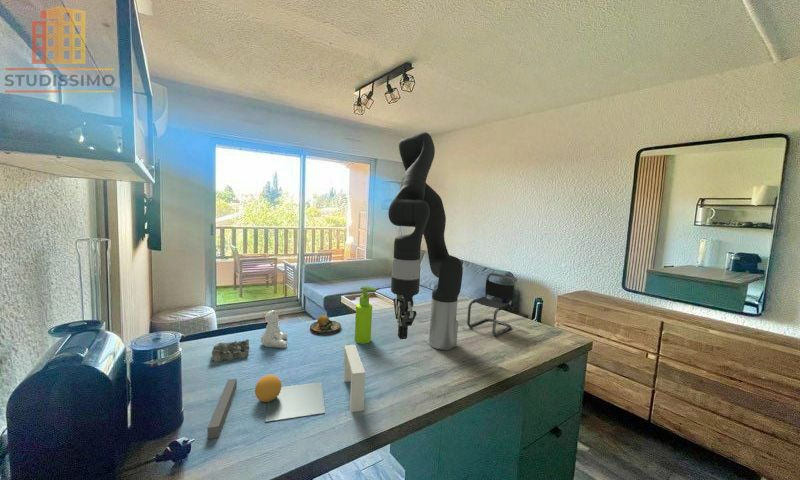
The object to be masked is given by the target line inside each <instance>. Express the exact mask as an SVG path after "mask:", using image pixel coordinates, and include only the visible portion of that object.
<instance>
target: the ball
mask: <svg viewBox="0 0 800 480" xmlns="http://www.w3.org/2000/svg"><path fill="white" fill-rule="evenodd" d="M281 387H282V382H281V379H280V378H279V377H278V376H277V375H274V374H268V375H264V376H262V377H261V378H259V380H258V381H257V382H256V384H255V388H254V393H255V396H256V398H257V399H258V400H259V401H261V402H264V403H268V402H269V401H272V400H274V399H275V398H276V397H277V396H278V395H279V393H280V391H281Z"/></svg>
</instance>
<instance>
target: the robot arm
mask: <svg viewBox="0 0 800 480" xmlns="http://www.w3.org/2000/svg"><path fill="white" fill-rule="evenodd" d="M398 150H399V155H400V158H401V162H402V164H403V168H404V170H405V172H404V174H403V176H402V178H401V181H400V187H399V190H398V192H397V194H396V195H395V197H394V198H393V199H392V201H391V203H390V205H389V208H388V219H389V221H390V223H391V224H392V225H393V226H397V227H408V228H410V227H412V228H414V230H413V231H412V232H411V233H409V234H403V235H398V236H396V237H395V238H394V242H393V260H392V264H391V283H390V291H391V293H392V294H394V295H395V296H396V297H395V298H393V301H392V302H393V307H394V315H395V320H397V324H398V327H397V328H398V329H397V337H398V339H399V340H406V339H408V327H411V326H412V325H413V323H414V321H415V318H416V317H417V311H416V310H414V309H413V308H414V304H415V303H414V298H413V297H414V296H416V295H418V294H419V293H420V284H421V283H420V282H421V281H420V280H421V248H422V240H423V238H424V241H425V244H426V250H427V257H428V262H429V268H430V271H431V273H432V274H433V276H434V277H436V278H437V279H438V281H437V287H436V288H434V289H433V290H432V293H431V307H430V324H429V336H428V344H429V346H430V347H432V348H433V349H437V350H439V351H440V350H442V351H449V350H452V349H454V348H457V343H458V333H459V332H458V331H459V321H458V320H457V314H458V313H457V311H458V300H459V295H460V293H461V290H462V282H463V274H464V273H463V272H464V269H463V267H464V266H463V264H462V261H461V260H460V259H459V258H458V257H456V256H454V255H450V253H449V251H448V249H447V245H446V241H445V231H446V223H447V221H446V220H447V217H446V212H445V211H446V210H445V207H444V204H443V200H442V198H441V196H440V194H438V193H437V192H436V190H435V189H433V188H432V187H431V186H430V185H429V184H428V183H427V179H428V178H427V177H428V176H429V172H430V170H431V168H432V165H433V162H434V159H435V153H436V149H435V145H434V140H433V138H432V135H431V134H430V133H428V132H420V133H419V132H418V133H417V134H413V135H410V136H408V137H404V138H401V139H400V140H399V142H398Z"/></svg>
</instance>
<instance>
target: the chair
mask: <svg viewBox="0 0 800 480" xmlns="http://www.w3.org/2000/svg"><path fill="white" fill-rule="evenodd" d="M491 276H494V277H499V278H503V279H509V280H512V282H511V284H510V285H508V284H507V285H506V284H500V283H496V282H493V281H490V277H491ZM516 281H518V277H513V276H509V275H503V274H499V273H493V272H490V273H488V274H487V275H486V280H485V291H484V295H483V296H482V297H479V298H476V299H473V300H471V301H469V304H468V306H467V316H466V317H467V321H466V323H467V324H466V325H467V326H468V327H469V328H472V327H474V326H476V325H479V324H481V322H482V323H483V321H484V322H486V321H485V320H491V321H490V322H492V335H493V336H494V337H497V336H499V335H501V334H503V333H505V332H507V331H509V330H510V329H512V326H511V325H510V324H509V323H506V322H504V321H500V320H497V315H498V313H499V311H500V312H501V311H502V310H505V309H507V308H509V307H510V306H512V303H513V301H514V290H515V283H516ZM487 296H491V297H493V298H498V299H502V300H508V301H509V302H508V303H507V302H506V303H505V302H499V301H497V300H496V301H495V300H492V299H489V298H487ZM475 303H477V304H479V305H481V306H485V307H489V308H493V309H494V308H495V310H494V312H493V318H491V317H490V318H489V317H488V318H487V317H485V318H483V319H480V320H477V321H475V322H473V323H471V309H472V305H473V304H475ZM496 322H498V323H496ZM499 323H501V324H500V325H502V324H504V325H503V326H505V325H507V326H506V328H503V329H501V330H499V331H498V332H496V325H497V324H499Z"/></svg>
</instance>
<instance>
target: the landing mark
mask: <svg viewBox="0 0 800 480" xmlns="http://www.w3.org/2000/svg"><path fill="white" fill-rule="evenodd" d="M324 414H326V409H325V399H324V390H323V382H322V381H319V382H311V383H304V384H302V383H301V384H295V385H288V386H287V385H286V386H281V391H280V393H279V395H278V396H277V397H276V398H275V399H274V400H272V401H269V402H267V408H266V415H265V420H264V423H270V422H271V423H272V422H278V421H283V420H289V419H298V418H303V417H310V416H312V417H313V416H317V415H324Z"/></svg>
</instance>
